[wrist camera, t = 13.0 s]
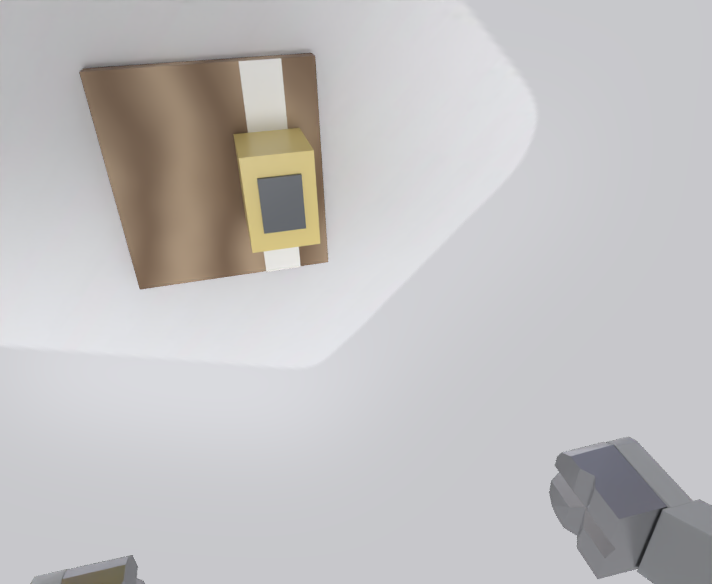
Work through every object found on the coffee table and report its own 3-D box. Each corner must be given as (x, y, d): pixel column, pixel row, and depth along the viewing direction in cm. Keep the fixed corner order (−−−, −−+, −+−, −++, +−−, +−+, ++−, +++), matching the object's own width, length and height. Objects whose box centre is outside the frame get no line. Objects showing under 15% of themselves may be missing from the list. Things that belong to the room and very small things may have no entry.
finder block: (246, 220, 44) (252, 254, 39) (233, 134, 40) (238, 159, 35) (306, 212, 45) (321, 245, 40) (299, 127, 41) (314, 151, 36)
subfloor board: (141, 280, 46) (139, 290, 45) (83, 68, 37) (78, 72, 36) (324, 254, 49) (328, 263, 48) (311, 52, 41) (315, 56, 39)
